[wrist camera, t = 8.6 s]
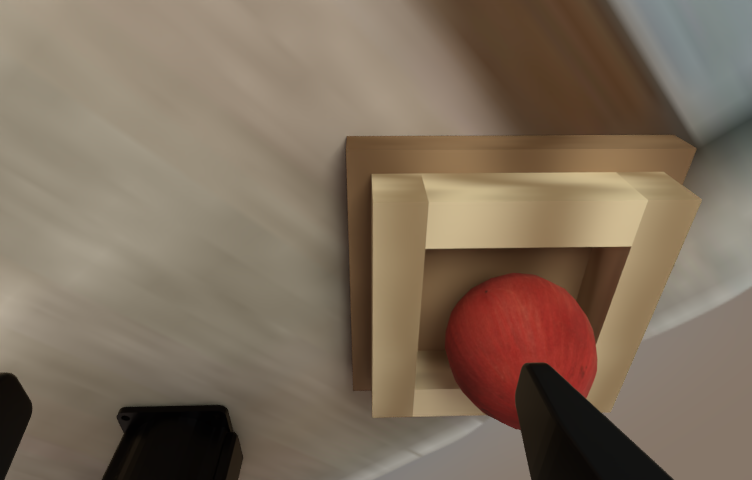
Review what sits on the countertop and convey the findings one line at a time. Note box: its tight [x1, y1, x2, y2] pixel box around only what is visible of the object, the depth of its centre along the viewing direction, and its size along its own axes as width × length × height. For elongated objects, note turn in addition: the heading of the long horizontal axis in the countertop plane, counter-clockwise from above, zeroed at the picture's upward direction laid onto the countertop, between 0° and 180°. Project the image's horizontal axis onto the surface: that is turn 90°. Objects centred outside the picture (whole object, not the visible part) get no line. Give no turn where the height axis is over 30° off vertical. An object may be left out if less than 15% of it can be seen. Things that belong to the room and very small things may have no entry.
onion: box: [445, 273, 598, 430], centre depth 18 cm, size 6×6×8 cm
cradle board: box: [346, 135, 702, 418], centre depth 21 cm, size 14×14×4 cm
